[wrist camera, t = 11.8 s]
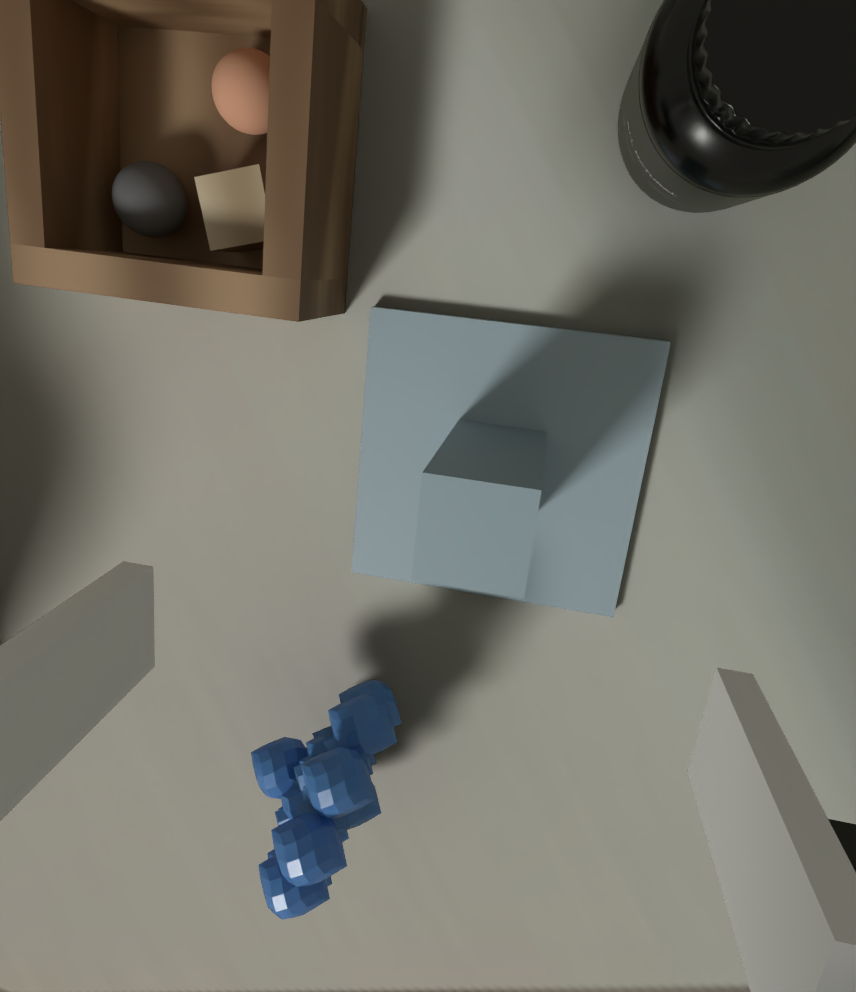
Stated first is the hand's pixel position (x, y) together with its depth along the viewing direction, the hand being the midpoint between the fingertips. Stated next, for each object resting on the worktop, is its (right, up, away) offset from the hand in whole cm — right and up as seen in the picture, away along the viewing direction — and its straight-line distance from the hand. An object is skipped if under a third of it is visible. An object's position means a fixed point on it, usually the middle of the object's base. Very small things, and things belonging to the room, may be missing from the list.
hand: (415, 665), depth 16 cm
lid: (+4, +6, +17) cm, 18 cm away
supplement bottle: (+11, +19, +11) cm, 24 cm away
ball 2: (-6, +20, +13) cm, 25 cm away
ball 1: (-11, +17, +15) cm, 25 cm away
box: (-9, +19, +15) cm, 26 cm away
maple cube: (-7, +16, +14) cm, 23 cm away
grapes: (-4, -8, +23) cm, 24 cm away
